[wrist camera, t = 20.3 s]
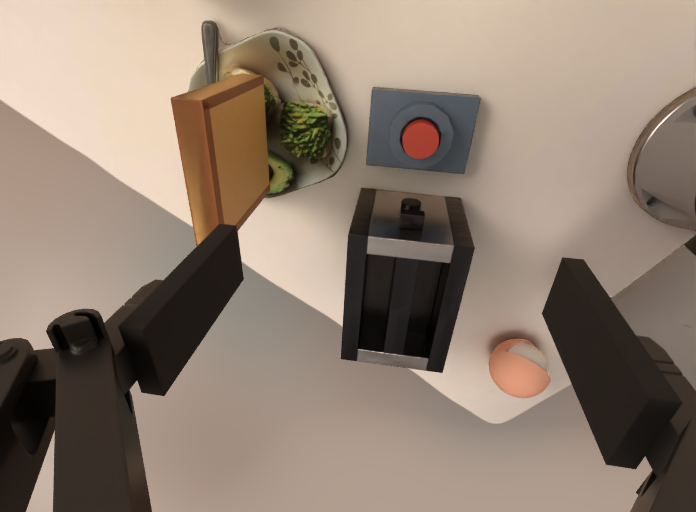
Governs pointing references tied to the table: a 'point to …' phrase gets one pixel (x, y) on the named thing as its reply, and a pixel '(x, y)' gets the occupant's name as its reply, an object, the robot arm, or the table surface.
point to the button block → (409, 105)
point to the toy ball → (519, 368)
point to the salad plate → (283, 103)
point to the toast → (223, 150)
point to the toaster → (404, 278)
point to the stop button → (420, 139)
